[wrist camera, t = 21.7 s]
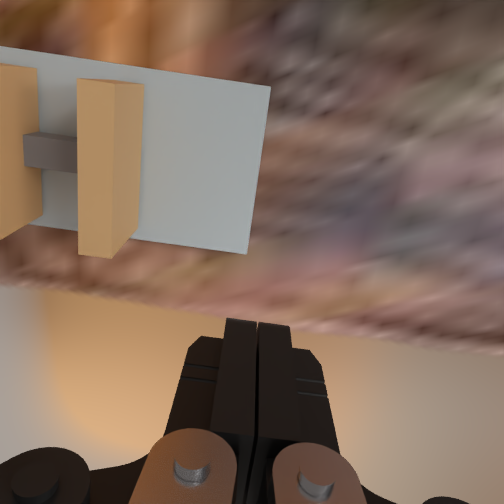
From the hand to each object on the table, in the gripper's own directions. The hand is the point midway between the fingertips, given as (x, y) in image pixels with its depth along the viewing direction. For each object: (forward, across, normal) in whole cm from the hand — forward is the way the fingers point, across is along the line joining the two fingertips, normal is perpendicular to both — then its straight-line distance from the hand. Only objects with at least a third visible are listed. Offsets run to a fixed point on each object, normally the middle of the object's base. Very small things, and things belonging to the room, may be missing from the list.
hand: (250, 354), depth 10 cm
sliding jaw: (+21, +13, 0) cm, 25 cm away
